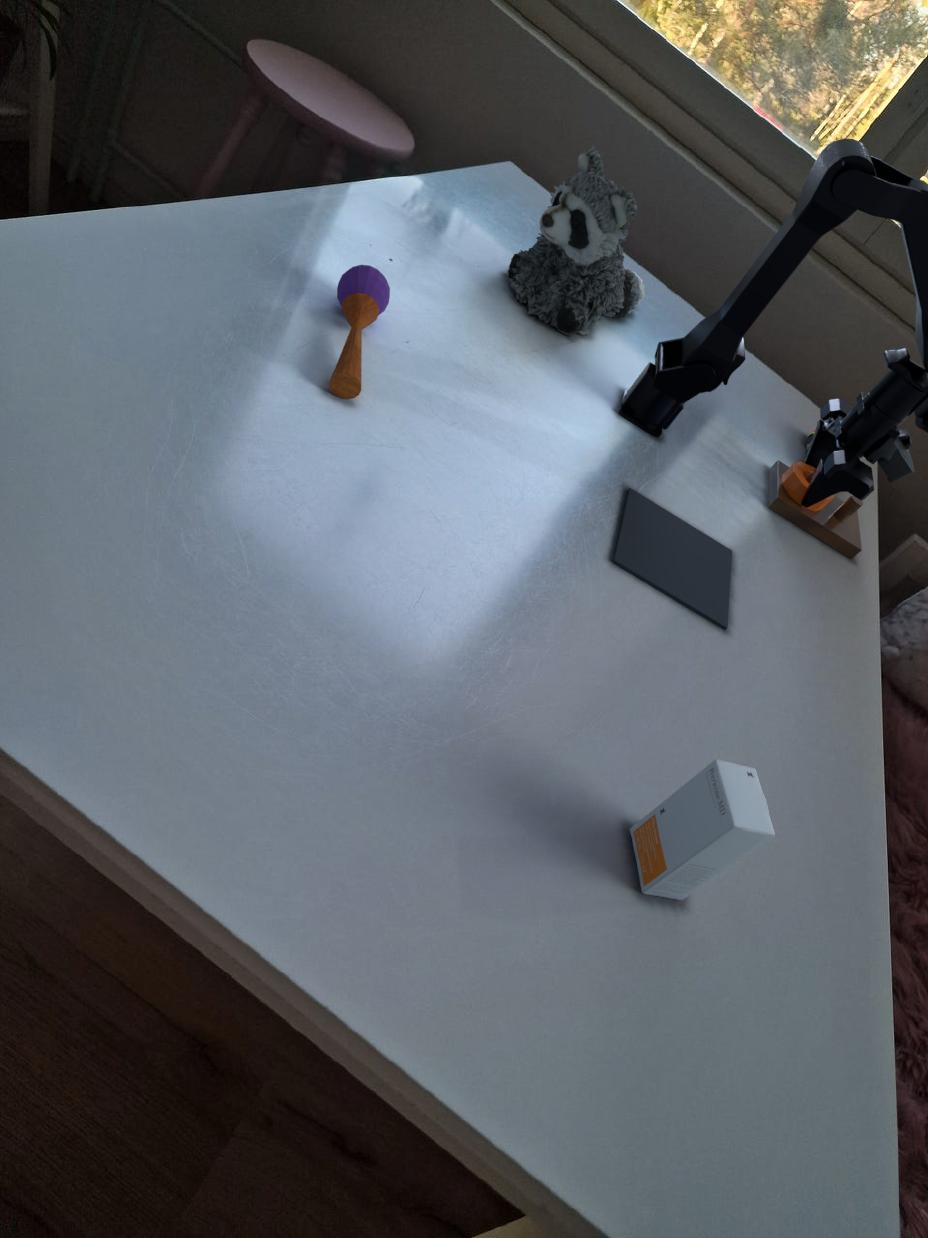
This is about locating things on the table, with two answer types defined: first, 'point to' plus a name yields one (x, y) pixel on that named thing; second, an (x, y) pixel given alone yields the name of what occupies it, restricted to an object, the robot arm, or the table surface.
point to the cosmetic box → (701, 830)
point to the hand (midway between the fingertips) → (803, 491)
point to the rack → (818, 515)
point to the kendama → (357, 323)
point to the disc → (801, 484)
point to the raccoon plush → (580, 254)
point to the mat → (674, 558)
